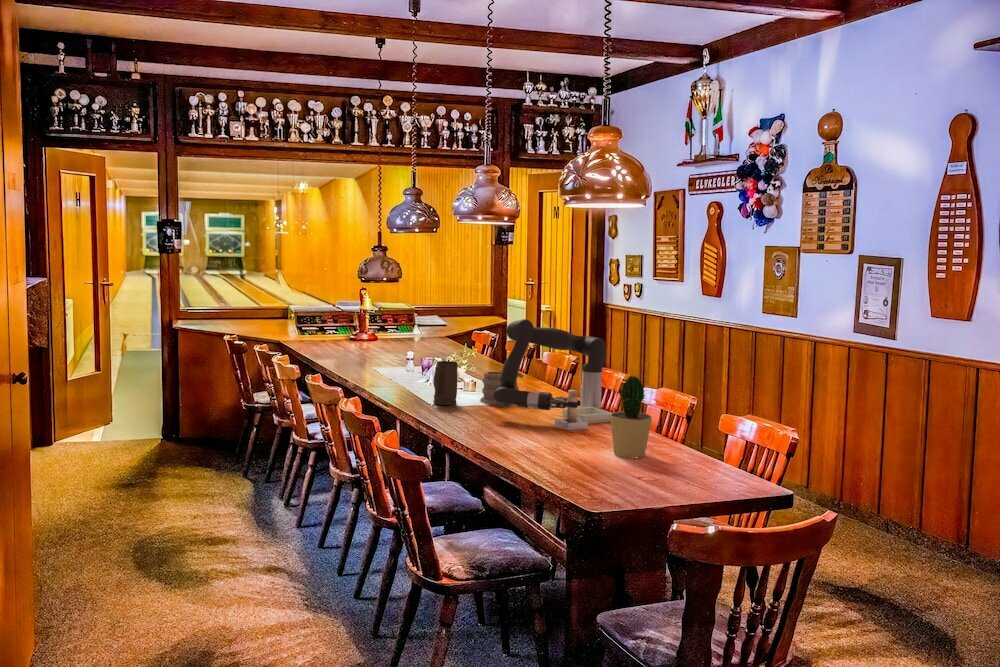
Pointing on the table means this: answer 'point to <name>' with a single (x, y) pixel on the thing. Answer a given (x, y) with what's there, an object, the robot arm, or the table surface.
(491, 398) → the tankard
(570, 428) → the peg holder
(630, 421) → the potted cactus
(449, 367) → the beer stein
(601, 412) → the sage tray
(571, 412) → the maple peg
